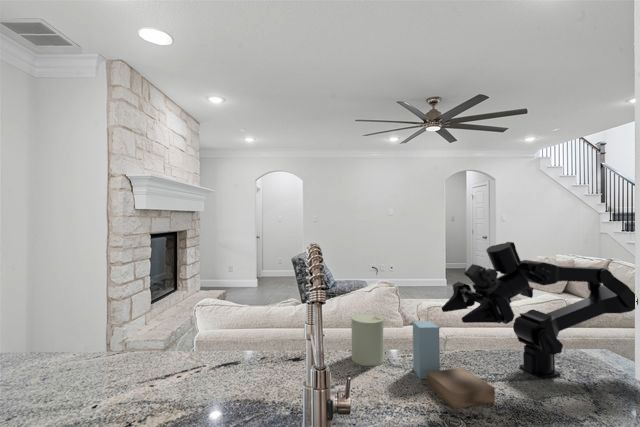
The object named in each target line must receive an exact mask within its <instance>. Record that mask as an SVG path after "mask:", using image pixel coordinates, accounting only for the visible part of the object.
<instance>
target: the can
mask: <svg viewBox="0 0 640 427" xmlns="http://www.w3.org/2000/svg"><path fill="white" fill-rule="evenodd" d="M350 320H351V361H352V362H353V363H355V364H357V365H360V366H365V367H375V366H379V365H382V364H383V363H384V362H385V353H384V352H385V351H384V321H385V320H384V317H383V316H381V315H378V314H376V313H367V312H366V313H365V312H364V313H357V314H353V315H351V317H350Z"/></svg>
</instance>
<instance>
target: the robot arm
mask: <svg viewBox="0 0 640 427" xmlns="http://www.w3.org/2000/svg"><path fill="white" fill-rule="evenodd" d="M486 253H487V255H488V258H489V260H490V261H489V262H490V263H491V265H492V267H493V268H486V267H484V266H481V265H479V264H474V263H472V264H471V265H470V266H469V267H468V268H467V269H466V270H465V271H464V275H465V276H466V277H468V279H470V280H471V282H472V283H473V284H472V285H469V284H466V283H463V282H461V281H457V282H455V283H453V284H452V291H453V292H452V293H453V294H452V295H451V297H450V298H448V300H447V301H446V303H445V304H444V305H442V307H441V310H442V313H446V312H453V311H460V310H467V309H468V308H469V307H473V306H475V303H477V304H479V305H478V306H477V307H476V308H474V309H472V310H470V311H469V312H468V313H466V314H465V315H464V316H462V317H461V321H462V323H464V324H465V323H466V324H468V323H469V324H473V323H479V324H480V323H489V324H491V323H492V324H493V323H495V324H496V323H497V324H501V323H502V324H504V325H507V324H509V323H511V322H513V321H514V322H513V332H514V334H515V336H516V337H517V340H518V342H520V343H522V344H524V345H523V353H522V354H523V356H522V358H523V359H522V360H523V364H519V368H521V369H522V370H524V371H526V372H528V373H531V374H532V375H534V376H536V377H538V378H539V379H544V378H545V379H546V378H552V377H557V376H561V372H559V371H557V370H555V369H556V368H555V367H556V366H555V364H556V363H555V356H556V355H557V354H561V353H562V350H563V347H564V344H563V343H562V341H560V340H559V339H558V336H559V334H560V332H561V331H564V330H566V329H569V328H571V327H574V326H576V325H580V324H582V323H583V322H587V321H590V320H591V319H594V318H597V317H599V316H602V315H604V314H624V313H625V314H626V313H630V312H633V311H634V310H636V308H635V295H636V294H635V293H634V291H633V290H632V289H631V288H630V287H629V285H627V284H626V283H624V281H621V280H620V279H618V278H617V277H615V276H614V274H613V273H612V272H611V271H610V270H609V269H607V268H605V267H597V266H592V265H591V266H570V265H569V266H568V265H556V264H553V263H548V262H545V261H544V262H543V261H535V260H528V259H523V260H521V258H520V255H519V253H518V251H517V248H516V245H515V242H513V241H507V242H505V243H503V242H502V243H498V244H496V245H493V244H492V245H491V246H489V247H487V248H486ZM498 272H499V273H500V274H502V275H500V276H498V275H499V273H498ZM559 282H579V283H580V282H582V283H583V282H585V283H587V289H588V291H589V295H588V296H587V297H586V298H584V299H581V300H579V301H578V300H577V301H575V302H573V303H570V304H567V305H565V306H563V307H560V308H557V309H555V310H552V311H549V312H547V313H545V312H542V311H539V310H536V309H530V310H528V311H526V312H524V313H522V312H521V313H520V312H519V316H517V317H515V313H514V311H513V308H512V306H511V304H512V300H511V299H513V298H514V297H516V296H519V295H520V296H523V297H527V298H529V299H530V298H531V299H532V298H533V296H534V291H533V290H534V287H532V286H530V283H532V284H536V285H539V286H548V285H549V286H550V285H555V284H557V283H559ZM471 286H472V288H473V290H475V291H473V290H472V288H471ZM636 302H637V306H638V305H639V299H638V297H637V301H636ZM514 318H515V319H514Z"/></svg>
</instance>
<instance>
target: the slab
mask: <svg viewBox="0 0 640 427" xmlns="http://www.w3.org/2000/svg"><path fill="white" fill-rule="evenodd" d="M426 386H427V387H429V388H430V389H431V390H432V391H433V392H434V393H435V394H436V395H437V396H438V397H440V398H441V399H442V400H443V401H445V402H446V403H447V405H449V406H450V407H452V408H453V409H460V408H468V407H473V406H480V405H486V404H491V403H492V404H493V403H495V402H496V396H495V395H496V393H495V390H496V389H495V387H494V386H492V385H490V383H488V382H486V381H485V380H483V379H481V378H480V377H479V376H477V375H475V374H474V373H472V372H471V371H469V370H468V369H466V368H465V367H458V368H457V367H456V368H450V369H449V368H448V369H447V368H446V369H440V370H439V371H431V372H427V379H426Z"/></svg>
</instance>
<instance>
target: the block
mask: <svg viewBox="0 0 640 427" xmlns="http://www.w3.org/2000/svg"><path fill="white" fill-rule="evenodd" d="M440 355H441V354H440V326H438V325H437V324H436V323H434V321H432V320H422V321H421V320H419V321H418V320H417V321H415V320H414V321H412V360H413V361H412V362H413V363H412V365H413V366H412V368H413V371H414V373H415V374H416V375H417V377H418V378H419V379H420V380H424V379H425V380H427V372H431V371H439V370H441V367H440V366H441V364H440V362H441V360H440V357H441V356H440Z"/></svg>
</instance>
